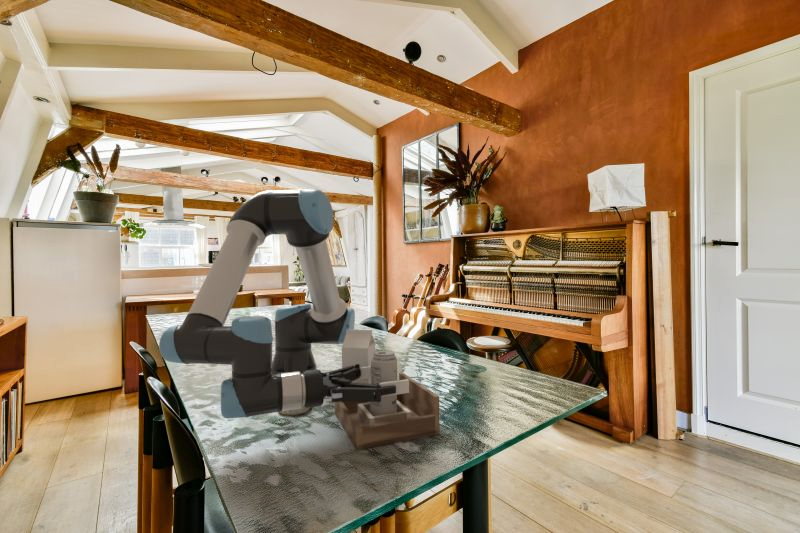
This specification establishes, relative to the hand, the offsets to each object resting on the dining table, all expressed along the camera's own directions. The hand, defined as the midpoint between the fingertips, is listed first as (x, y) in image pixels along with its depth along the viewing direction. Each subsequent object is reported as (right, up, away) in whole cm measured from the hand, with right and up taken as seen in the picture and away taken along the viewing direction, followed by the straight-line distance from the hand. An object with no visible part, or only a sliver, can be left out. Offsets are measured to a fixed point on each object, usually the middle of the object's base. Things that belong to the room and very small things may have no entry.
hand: (396, 377), depth 87 cm
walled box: (-3, -10, -1) cm, 11 cm away
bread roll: (-26, -11, +8) cm, 29 cm away
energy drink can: (-3, -9, -1) cm, 10 cm away
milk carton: (-10, -10, +13) cm, 19 cm away
